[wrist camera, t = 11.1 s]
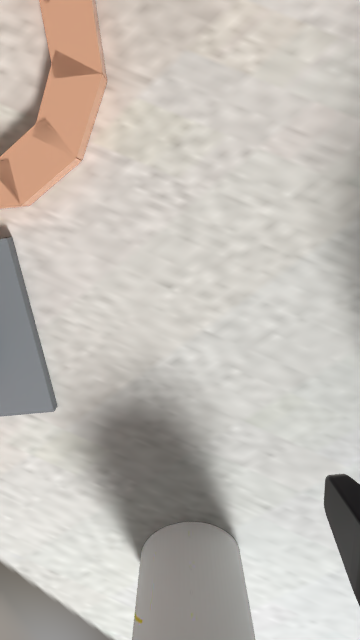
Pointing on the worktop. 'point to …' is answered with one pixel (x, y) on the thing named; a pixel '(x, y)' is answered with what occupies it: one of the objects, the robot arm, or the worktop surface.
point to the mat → (20, 345)
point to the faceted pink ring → (59, 105)
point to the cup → (191, 586)
